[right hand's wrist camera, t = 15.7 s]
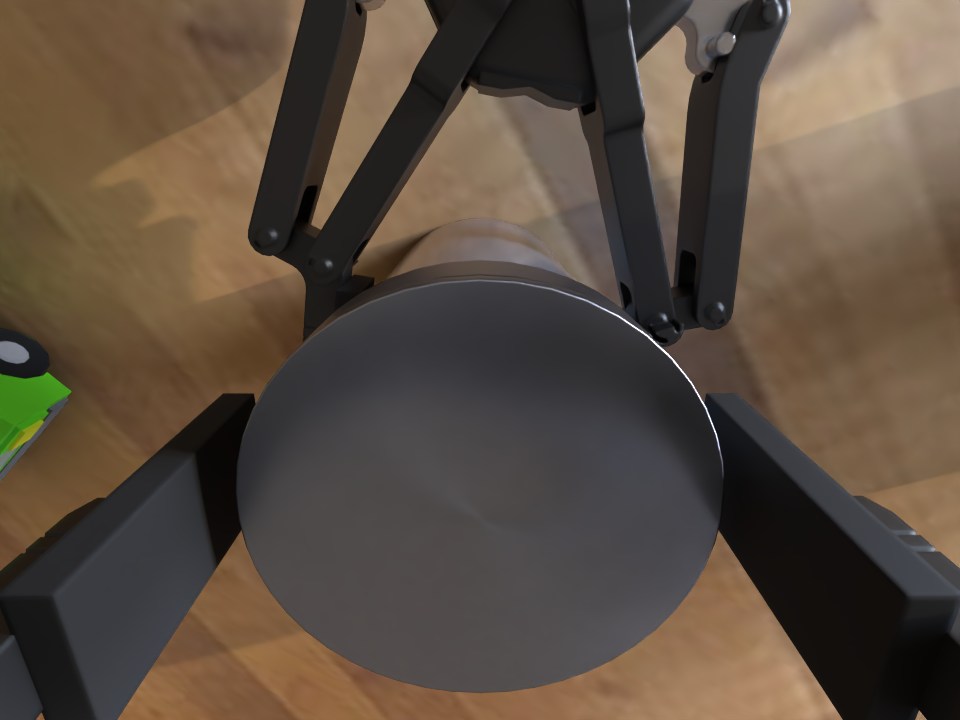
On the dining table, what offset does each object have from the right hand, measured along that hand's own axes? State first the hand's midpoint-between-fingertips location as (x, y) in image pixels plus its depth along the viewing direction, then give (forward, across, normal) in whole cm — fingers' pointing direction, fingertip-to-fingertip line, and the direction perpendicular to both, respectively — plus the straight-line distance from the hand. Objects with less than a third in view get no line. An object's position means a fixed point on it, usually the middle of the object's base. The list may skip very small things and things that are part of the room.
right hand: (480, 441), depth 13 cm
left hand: (+7, -1, -4) cm, 8 cm away
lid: (-3, 0, 0) cm, 3 cm away
